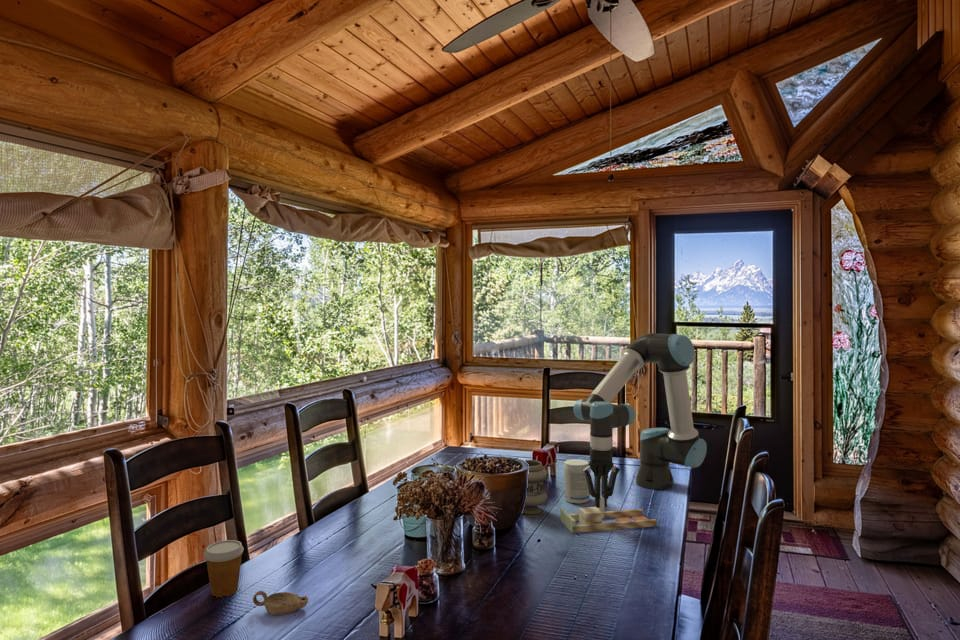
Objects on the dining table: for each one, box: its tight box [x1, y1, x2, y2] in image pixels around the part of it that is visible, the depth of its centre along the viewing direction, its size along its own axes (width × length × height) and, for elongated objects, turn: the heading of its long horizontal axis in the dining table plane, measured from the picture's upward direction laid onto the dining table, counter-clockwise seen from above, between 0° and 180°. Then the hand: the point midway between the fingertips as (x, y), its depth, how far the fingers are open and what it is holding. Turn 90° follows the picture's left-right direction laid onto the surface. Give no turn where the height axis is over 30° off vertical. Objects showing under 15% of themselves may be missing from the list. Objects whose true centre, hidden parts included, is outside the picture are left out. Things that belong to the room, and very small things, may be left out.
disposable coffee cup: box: [203, 539, 244, 598], centre depth 157 cm, size 10×10×12 cm
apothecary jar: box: [521, 459, 548, 518], centre depth 217 cm, size 12×12×18 cm
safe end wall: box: [559, 508, 576, 534], centre depth 203 cm, size 1×11×4 cm, turn 11°
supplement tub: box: [563, 458, 591, 505], centre depth 230 cm, size 10×10×15 cm
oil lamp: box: [252, 590, 309, 616], centre depth 147 cm, size 13×8×5 cm, turn 91°
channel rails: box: [568, 508, 658, 534], centre depth 206 cm, size 30×11×2 cm, turn 101°
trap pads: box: [613, 514, 649, 522], centre depth 208 cm, size 11×8×1 cm
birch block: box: [578, 506, 603, 525], centre depth 204 cm, size 6×6×5 cm
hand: (600, 516), depth 205 cm, fingers closed
